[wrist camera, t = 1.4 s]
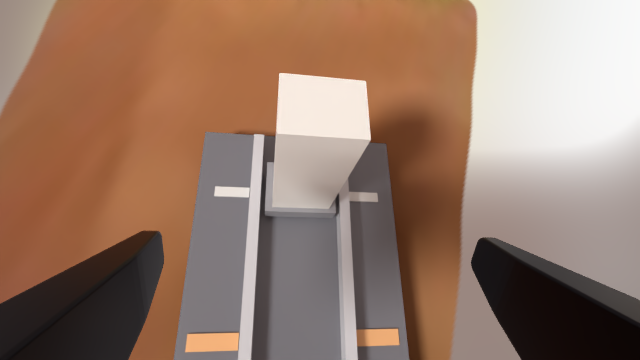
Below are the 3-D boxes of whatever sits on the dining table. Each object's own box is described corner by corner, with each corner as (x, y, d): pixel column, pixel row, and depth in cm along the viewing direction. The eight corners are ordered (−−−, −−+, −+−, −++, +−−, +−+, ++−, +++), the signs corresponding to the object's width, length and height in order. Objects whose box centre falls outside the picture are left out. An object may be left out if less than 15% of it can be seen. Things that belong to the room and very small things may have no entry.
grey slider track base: (400, 413, 18) (425, 431, 15) (173, 428, 16) (154, 452, 13) (377, 156, 24) (391, 136, 21) (210, 146, 22) (202, 123, 19)
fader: (332, 218, 19) (382, 147, 11) (264, 216, 19) (263, 139, 10) (331, 172, 20) (375, 76, 12) (267, 168, 20) (268, 66, 11)
